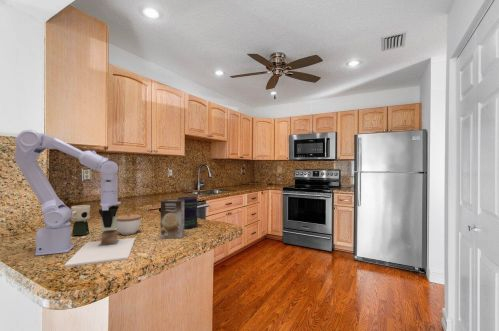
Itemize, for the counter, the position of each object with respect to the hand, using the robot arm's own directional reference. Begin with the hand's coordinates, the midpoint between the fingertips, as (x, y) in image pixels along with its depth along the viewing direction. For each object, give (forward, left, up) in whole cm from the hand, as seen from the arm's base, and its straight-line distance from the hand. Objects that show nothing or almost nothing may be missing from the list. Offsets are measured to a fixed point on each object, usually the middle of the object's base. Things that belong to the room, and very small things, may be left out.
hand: (109, 225), depth 93 cm
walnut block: (0, 0, -7) cm, 7 cm away
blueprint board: (0, -8, -7) cm, 11 cm away
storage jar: (+32, +18, -8) cm, 37 cm away
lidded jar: (+5, +16, -8) cm, 18 cm away
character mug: (-15, +21, -8) cm, 27 cm away
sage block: (0, 0, -1) cm, 1 cm away
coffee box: (+24, +3, -8) cm, 25 cm away
